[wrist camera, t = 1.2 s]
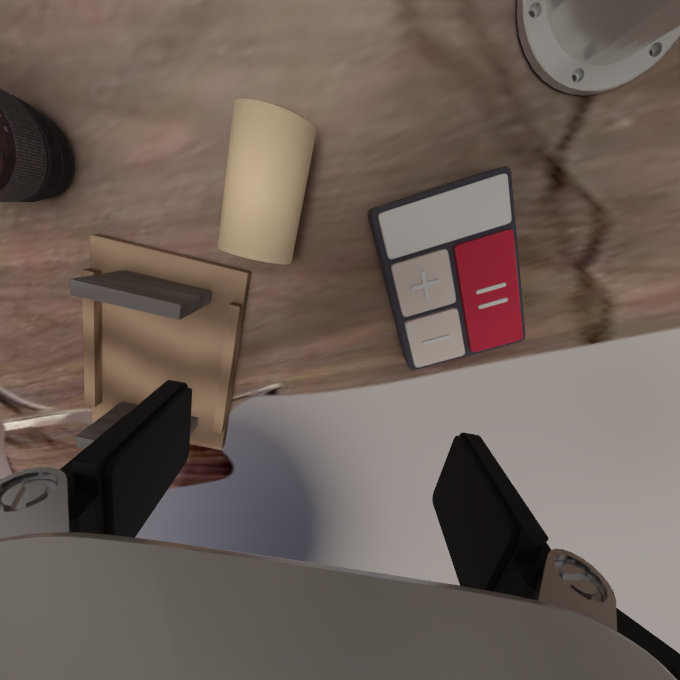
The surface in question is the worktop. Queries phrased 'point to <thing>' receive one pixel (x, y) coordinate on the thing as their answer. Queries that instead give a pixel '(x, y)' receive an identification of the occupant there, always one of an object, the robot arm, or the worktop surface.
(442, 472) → the robot arm
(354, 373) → the worktop surface
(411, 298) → the calculator
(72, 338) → the worktop surface
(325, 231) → the worktop surface
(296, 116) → the beige cylinder
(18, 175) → the camera lens
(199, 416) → the roll holder
